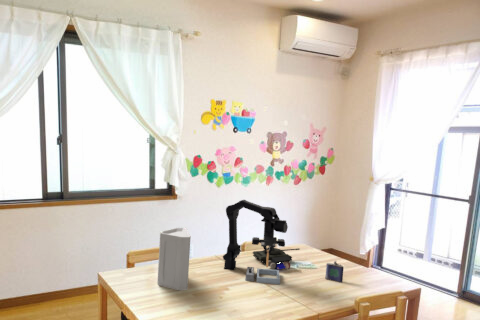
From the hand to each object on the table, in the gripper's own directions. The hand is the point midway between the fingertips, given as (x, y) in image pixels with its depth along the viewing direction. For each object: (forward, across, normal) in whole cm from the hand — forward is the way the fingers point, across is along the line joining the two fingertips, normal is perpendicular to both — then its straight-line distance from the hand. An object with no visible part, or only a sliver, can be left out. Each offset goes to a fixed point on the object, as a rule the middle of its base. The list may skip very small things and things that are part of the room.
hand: (267, 256), depth 198 cm
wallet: (+14, +40, +8) cm, 43 cm away
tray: (+14, +1, 0) cm, 14 cm away
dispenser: (+13, -10, 0) cm, 16 cm away
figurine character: (+14, +8, +18) cm, 24 cm away
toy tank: (+14, +8, +34) cm, 38 cm away
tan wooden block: (+5, 0, 0) cm, 5 cm away
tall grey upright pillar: (+13, -51, -17) cm, 56 cm away
